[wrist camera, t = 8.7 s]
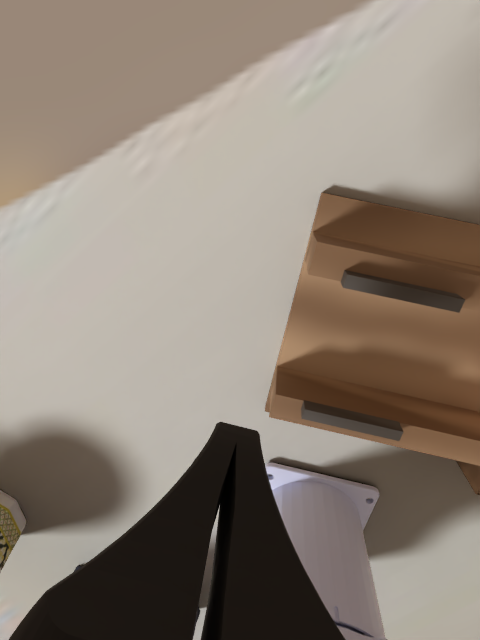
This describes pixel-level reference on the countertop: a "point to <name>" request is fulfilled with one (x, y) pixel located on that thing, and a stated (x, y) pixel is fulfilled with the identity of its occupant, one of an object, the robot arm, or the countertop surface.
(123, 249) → the countertop surface
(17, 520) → the ceramic cup
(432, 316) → the wooden tray
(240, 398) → the countertop surface
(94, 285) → the countertop surface
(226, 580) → the robot arm
